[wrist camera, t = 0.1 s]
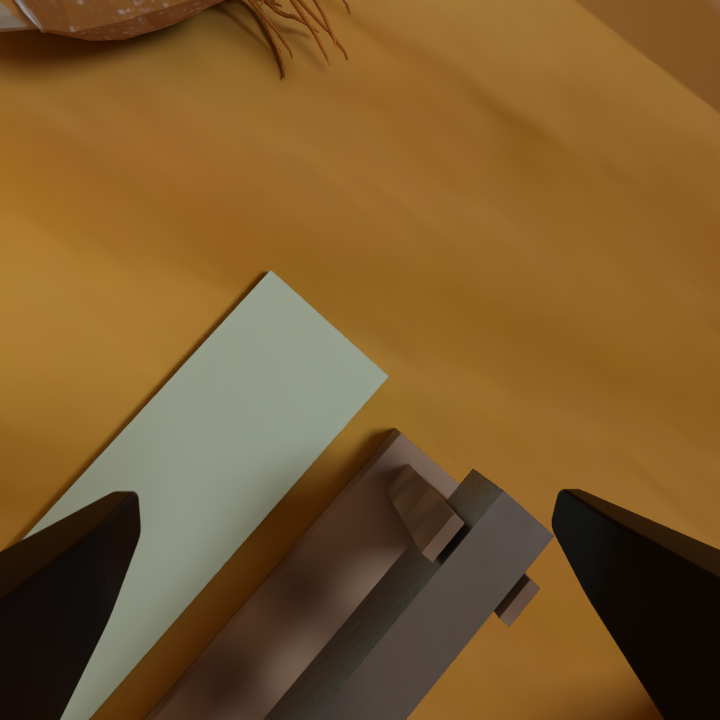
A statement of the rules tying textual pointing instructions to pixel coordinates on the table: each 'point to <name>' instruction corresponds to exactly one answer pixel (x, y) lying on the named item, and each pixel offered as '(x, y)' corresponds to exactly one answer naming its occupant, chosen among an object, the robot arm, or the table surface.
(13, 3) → the nautilus
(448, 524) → the hook stand
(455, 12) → the table surface
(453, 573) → the hang rail
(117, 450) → the rubber mat
